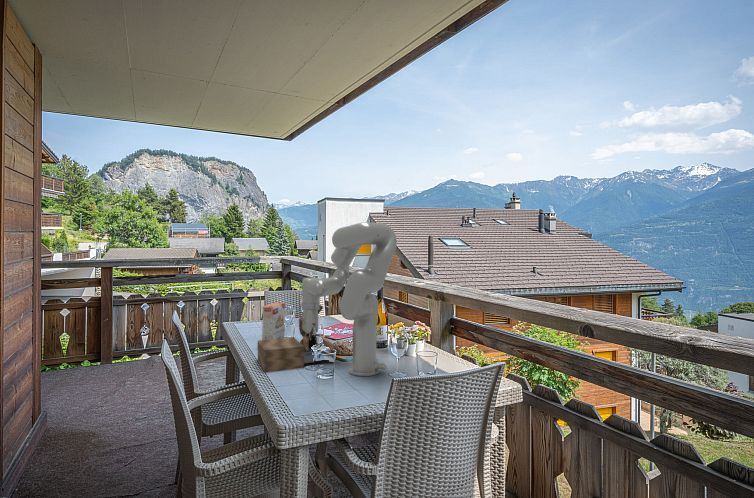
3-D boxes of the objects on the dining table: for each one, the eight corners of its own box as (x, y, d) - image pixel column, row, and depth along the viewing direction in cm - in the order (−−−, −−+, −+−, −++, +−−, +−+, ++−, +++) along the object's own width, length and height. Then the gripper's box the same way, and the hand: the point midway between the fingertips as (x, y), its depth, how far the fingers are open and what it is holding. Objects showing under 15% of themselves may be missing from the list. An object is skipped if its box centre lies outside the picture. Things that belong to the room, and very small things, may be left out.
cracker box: (273, 350, 204) (273, 306, 203) (261, 350, 205) (261, 306, 205) (285, 343, 218) (285, 302, 217) (274, 343, 219) (274, 302, 218)
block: (314, 346, 191) (314, 335, 191) (317, 349, 186) (317, 337, 186) (303, 347, 189) (303, 336, 189) (306, 350, 184) (306, 338, 184)
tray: (321, 352, 199) (321, 335, 199) (333, 362, 182) (333, 344, 182) (286, 356, 192) (286, 338, 192) (295, 367, 176) (295, 347, 176)
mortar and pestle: (319, 340, 223) (318, 302, 223) (324, 344, 215) (324, 305, 215) (297, 343, 218) (297, 304, 218) (301, 347, 210) (301, 306, 210)
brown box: (294, 356, 194) (294, 337, 194) (303, 367, 177) (303, 346, 177) (257, 360, 187) (257, 340, 187) (264, 372, 171) (264, 350, 171)
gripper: (297, 303, 193) (297, 343, 194) (307, 309, 178) (307, 353, 178) (314, 302, 197) (313, 342, 197) (324, 308, 181) (324, 351, 182)
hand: (310, 346), depth 188 cm, fingers closed on block, 4 cm apart
